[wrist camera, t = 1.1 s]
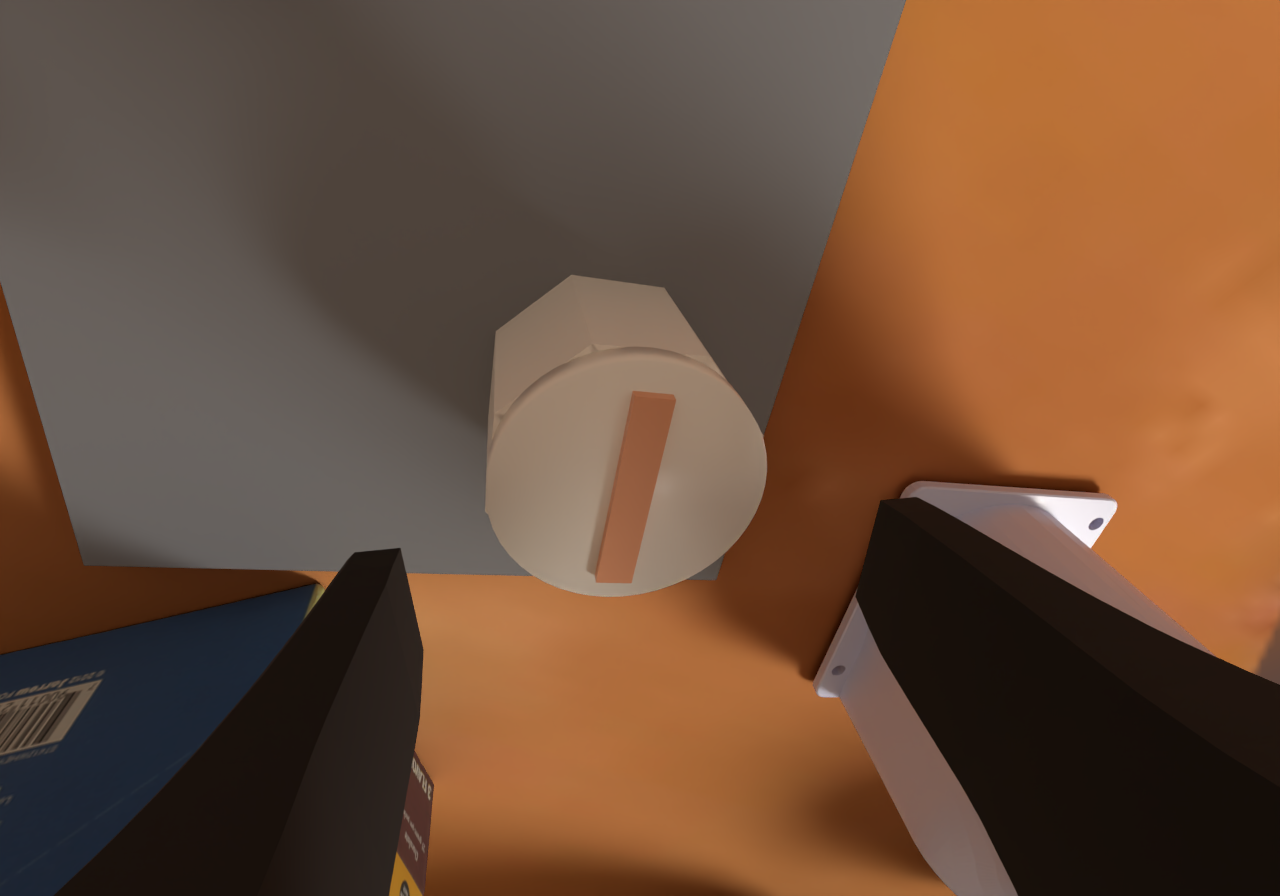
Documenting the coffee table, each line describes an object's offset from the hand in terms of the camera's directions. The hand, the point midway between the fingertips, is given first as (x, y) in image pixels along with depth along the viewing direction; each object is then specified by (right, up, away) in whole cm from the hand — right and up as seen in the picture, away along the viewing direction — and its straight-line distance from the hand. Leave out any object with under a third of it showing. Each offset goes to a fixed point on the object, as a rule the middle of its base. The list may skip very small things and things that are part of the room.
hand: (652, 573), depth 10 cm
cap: (-1, +3, +6) cm, 7 cm away
